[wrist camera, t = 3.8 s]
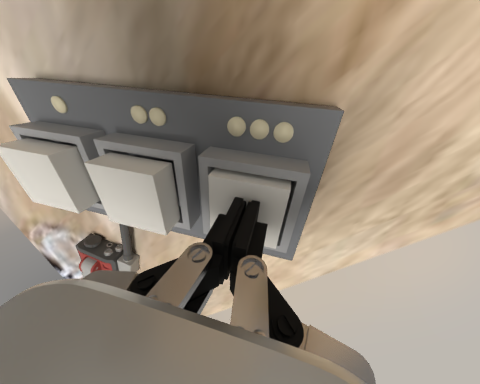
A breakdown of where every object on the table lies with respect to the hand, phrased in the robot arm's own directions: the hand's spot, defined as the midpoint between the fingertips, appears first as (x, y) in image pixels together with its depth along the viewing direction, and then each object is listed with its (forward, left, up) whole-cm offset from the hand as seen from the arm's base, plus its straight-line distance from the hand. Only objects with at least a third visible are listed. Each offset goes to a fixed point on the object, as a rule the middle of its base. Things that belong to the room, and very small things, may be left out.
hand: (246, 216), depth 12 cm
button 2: (0, -8, -1) cm, 8 cm away
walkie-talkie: (+17, -21, -5) cm, 28 cm away
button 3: (0, 0, -2) cm, 2 cm away
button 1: (0, -16, -1) cm, 16 cm away
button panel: (0, -8, -5) cm, 9 cm away
